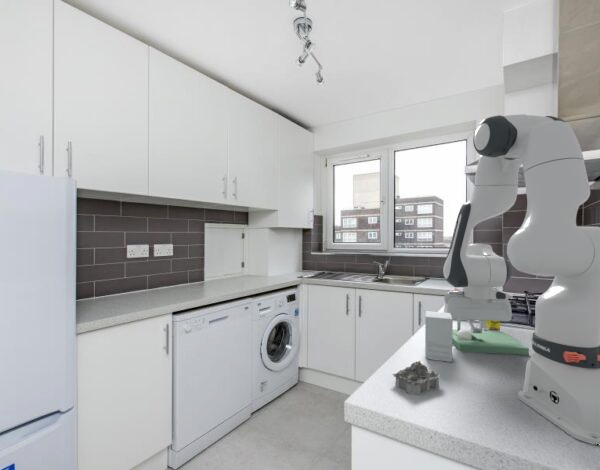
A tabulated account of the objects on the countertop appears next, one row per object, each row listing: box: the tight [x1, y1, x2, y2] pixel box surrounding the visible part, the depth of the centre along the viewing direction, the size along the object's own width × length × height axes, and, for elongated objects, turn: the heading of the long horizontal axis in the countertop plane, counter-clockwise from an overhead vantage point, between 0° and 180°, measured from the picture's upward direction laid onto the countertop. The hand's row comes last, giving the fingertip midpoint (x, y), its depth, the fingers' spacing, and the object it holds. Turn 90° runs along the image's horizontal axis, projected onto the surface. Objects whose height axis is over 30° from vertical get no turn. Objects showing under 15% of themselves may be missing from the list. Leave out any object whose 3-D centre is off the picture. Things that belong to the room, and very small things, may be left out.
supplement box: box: [424, 310, 454, 363], centre depth 95 cm, size 7×7×13 cm
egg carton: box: [392, 360, 442, 396], centre depth 77 cm, size 11×8×4 cm
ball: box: [457, 328, 472, 340], centre depth 107 cm, size 4×4×4 cm
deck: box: [452, 287, 530, 356], centre depth 107 cm, size 19×20×17 cm
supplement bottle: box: [482, 321, 501, 332], centre depth 120 cm, size 6×6×10 cm
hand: (476, 332), depth 106 cm, fingers closed
